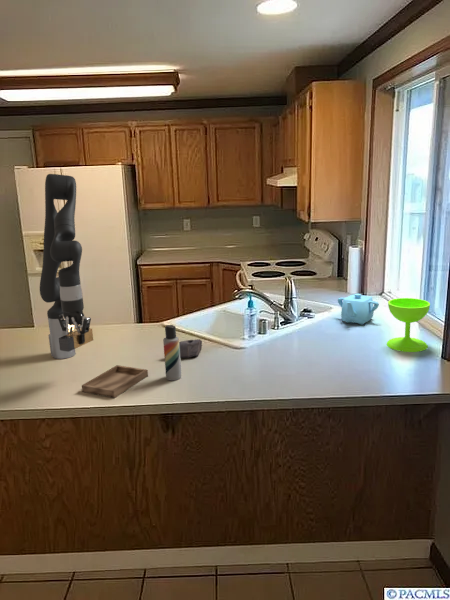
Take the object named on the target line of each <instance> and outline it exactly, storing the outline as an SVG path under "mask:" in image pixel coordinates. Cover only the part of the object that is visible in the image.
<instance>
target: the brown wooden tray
mask: <svg viewBox="0 0 450 600" xmlns="http://www.w3.org/2000/svg"><path fill="white" fill-rule="evenodd" d="M147 377H149V372H148V369H144V368H137V367H133V366H132V367H131V366H124V365H118V364H117V365H115V366H113V367H111V368H109V369H108V370H106V371H104V372H102V373H101V374H99V375H98V376H95V377H94V378H92V379H91V380H89V381H87V382H85V383H83V384H81V391H82V393H87V394H91V395H97V396H101V397H102V396H103V397H107V398H113V399H115V398H117V397H119V396H120V395H122V394H123V393H125V392H126V391H127V390H129V389H131V388H132V387H134V386H136V385H137V384H139V383H140V382H141V381H144V379H146V378H147Z"/></svg>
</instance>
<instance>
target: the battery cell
mask: <svg viewBox="0 0 450 600" xmlns="http://www.w3.org/2000/svg"><path fill="white" fill-rule="evenodd" d="M80 330H81V328H80ZM84 335H85V342H84V344H82V345H80V344H79V339H78V332H77V330H75V331H74V330H73V332H72V333H70V334H67V335H65V336H63V337H60V338H59V345H60V350H61V351H67V352H69V351H71V350H74V349H75V350H76V349H77V348H80V347H81V346H84V345H86V344H88V343H91V342H92V341H94V333H93V328H90V327H89V332H87V333H85V334H84Z"/></svg>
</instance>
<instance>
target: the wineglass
mask: <svg viewBox="0 0 450 600" xmlns="http://www.w3.org/2000/svg"><path fill="white" fill-rule="evenodd" d="M387 304H388V305H387V307H388V310H389V312H390V314H391V315H392V316H393V317H394V318H395V319H396V320H398V321H399V322H402V323H405V324H404V325H405V327H404V329H405V330H404V336H401V337H393V338H390V339H389V340H388V341H387V342H386V346H387V347H388V348H389V349H391V350H394V351H398V352H404V353H417V352H423V351H425V350H427V349H428V348H429V347H428V344H427V342H425V341H424V340H422V339H419V338H415V337H411V336H410V335H411V323H417V322H419V321H421V320H422V319H423V318H424V317H425V316H427V314H428V313H429V310H430V306H431V303H430V302H429V301H427V300H425V299H420V298H413V297H401V298H399V297H398V298H392V299H390V300H388V302H387Z"/></svg>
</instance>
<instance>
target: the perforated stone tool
mask: <svg viewBox="0 0 450 600" xmlns="http://www.w3.org/2000/svg"><path fill="white" fill-rule="evenodd" d="M179 345H180V359H186V358H191V357H198V356H199V355H200V354H201V351H202V350H203V349H202V348H203V347H202V346H203V341H202V340H201V339H199V338H198V339H186V340H181V341H179Z"/></svg>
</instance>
